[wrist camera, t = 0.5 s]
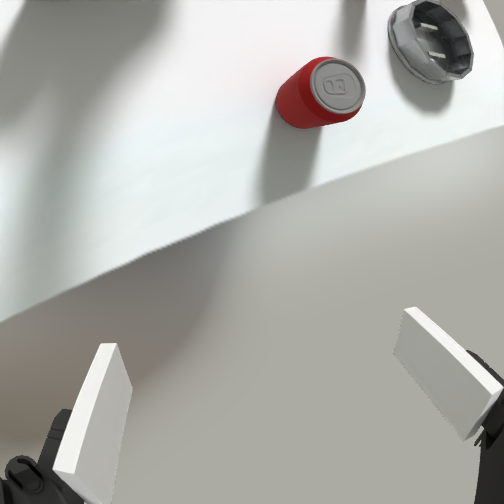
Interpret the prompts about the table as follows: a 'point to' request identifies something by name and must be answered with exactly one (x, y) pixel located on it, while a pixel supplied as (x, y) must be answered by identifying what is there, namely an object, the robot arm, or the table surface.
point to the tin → (430, 41)
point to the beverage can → (321, 94)
